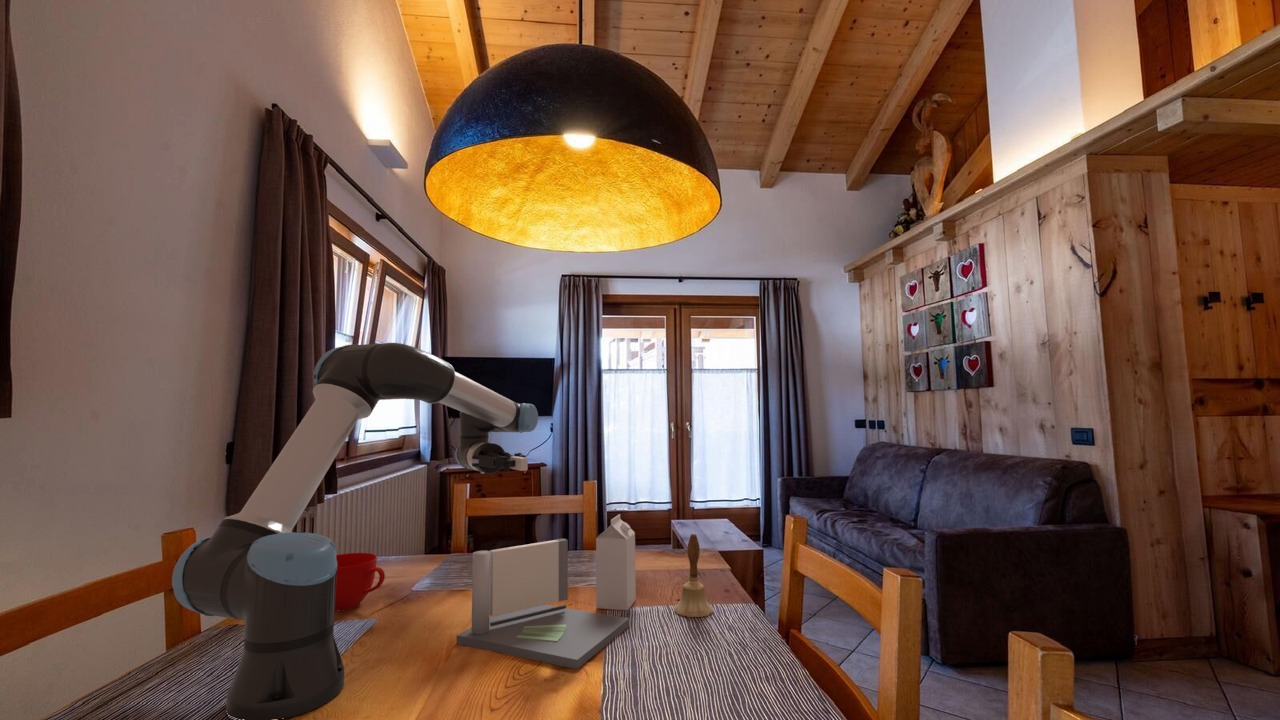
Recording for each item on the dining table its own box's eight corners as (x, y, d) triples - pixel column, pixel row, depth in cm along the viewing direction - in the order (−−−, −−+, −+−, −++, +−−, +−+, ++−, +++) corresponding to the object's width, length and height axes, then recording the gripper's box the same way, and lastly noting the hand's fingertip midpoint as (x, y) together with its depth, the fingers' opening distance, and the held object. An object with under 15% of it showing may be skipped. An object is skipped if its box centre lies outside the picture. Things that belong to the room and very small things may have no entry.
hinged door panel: (474, 636, 102) (476, 555, 103) (469, 630, 104) (470, 552, 106) (569, 612, 113) (569, 540, 114) (561, 608, 116) (562, 537, 117)
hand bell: (712, 604, 121) (711, 530, 123) (713, 618, 113) (712, 539, 115) (674, 603, 122) (673, 530, 124) (673, 617, 114) (672, 538, 116)
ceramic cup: (359, 621, 114) (361, 571, 115) (295, 613, 119) (297, 565, 120) (402, 600, 126) (403, 555, 127) (342, 594, 131) (344, 551, 132)
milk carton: (596, 609, 119) (595, 519, 121) (605, 598, 126) (605, 513, 128) (627, 611, 118) (626, 520, 120) (635, 600, 125) (635, 514, 126)
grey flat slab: (577, 669, 92) (577, 658, 92) (456, 643, 102) (456, 634, 102) (629, 626, 110) (629, 617, 110) (522, 608, 120) (522, 600, 121)
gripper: (510, 470, 145) (551, 479, 126) (461, 474, 137) (495, 484, 118) (510, 441, 146) (551, 445, 126) (461, 444, 138) (496, 448, 119)
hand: (524, 464), depth 122 cm, fingers closed
